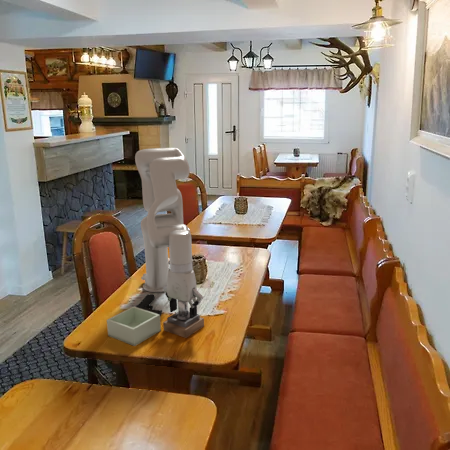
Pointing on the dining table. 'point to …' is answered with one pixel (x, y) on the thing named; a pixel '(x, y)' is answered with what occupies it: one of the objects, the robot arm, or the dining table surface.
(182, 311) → the light bulb
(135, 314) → the bin
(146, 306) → the pistol
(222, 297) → the dining table surface
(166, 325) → the brown square base
